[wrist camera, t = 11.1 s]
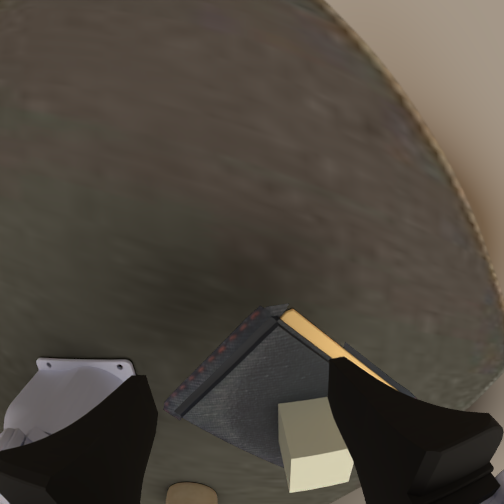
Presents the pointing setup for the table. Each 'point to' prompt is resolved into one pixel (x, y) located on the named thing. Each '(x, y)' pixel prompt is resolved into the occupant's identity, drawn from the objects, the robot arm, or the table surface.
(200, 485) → the candle
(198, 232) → the table surface
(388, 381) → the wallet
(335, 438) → the block
